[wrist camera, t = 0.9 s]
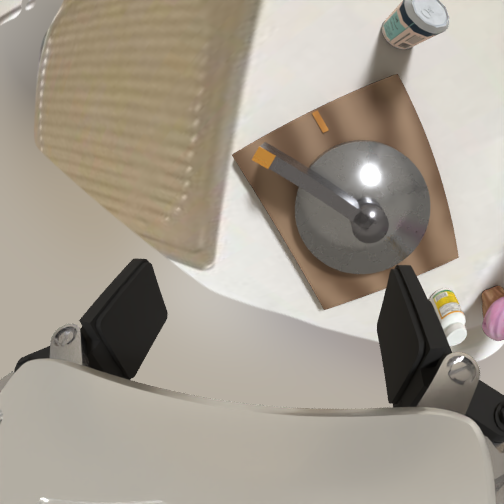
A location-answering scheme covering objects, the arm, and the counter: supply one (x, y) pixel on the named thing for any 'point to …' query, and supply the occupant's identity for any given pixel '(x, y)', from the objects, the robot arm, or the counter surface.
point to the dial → (356, 204)
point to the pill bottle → (415, 22)
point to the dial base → (333, 133)
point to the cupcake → (493, 312)
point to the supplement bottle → (449, 315)
